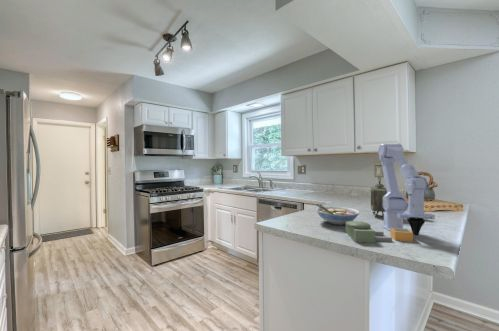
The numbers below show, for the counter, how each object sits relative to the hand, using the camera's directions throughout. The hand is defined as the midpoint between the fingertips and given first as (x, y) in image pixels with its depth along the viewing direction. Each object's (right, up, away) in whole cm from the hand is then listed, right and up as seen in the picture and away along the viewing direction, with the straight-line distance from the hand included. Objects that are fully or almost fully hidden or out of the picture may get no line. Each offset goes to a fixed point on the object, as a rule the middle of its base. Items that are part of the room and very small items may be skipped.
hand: (415, 234), depth 107 cm
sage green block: (-21, -2, +2) cm, 21 cm away
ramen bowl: (-25, -2, +27) cm, 37 cm away
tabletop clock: (+8, -1, +44) cm, 45 cm away
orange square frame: (-6, -2, +1) cm, 6 cm away
